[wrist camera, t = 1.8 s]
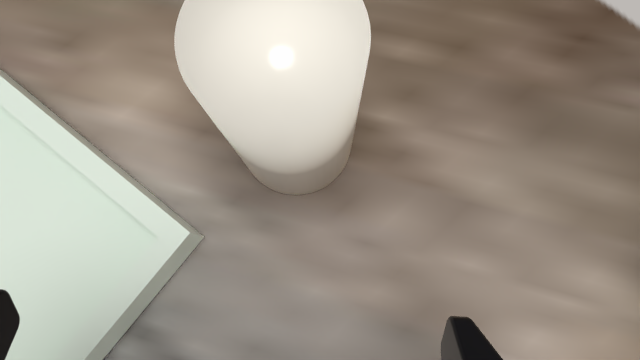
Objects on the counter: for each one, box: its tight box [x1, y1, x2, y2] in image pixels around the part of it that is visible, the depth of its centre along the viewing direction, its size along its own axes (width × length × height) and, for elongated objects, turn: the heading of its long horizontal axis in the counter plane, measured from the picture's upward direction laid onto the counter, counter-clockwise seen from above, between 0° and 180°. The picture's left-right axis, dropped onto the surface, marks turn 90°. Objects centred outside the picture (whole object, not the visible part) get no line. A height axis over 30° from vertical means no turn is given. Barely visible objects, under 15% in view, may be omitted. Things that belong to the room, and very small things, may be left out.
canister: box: [175, 0, 371, 195], centre depth 19 cm, size 6×6×11 cm
